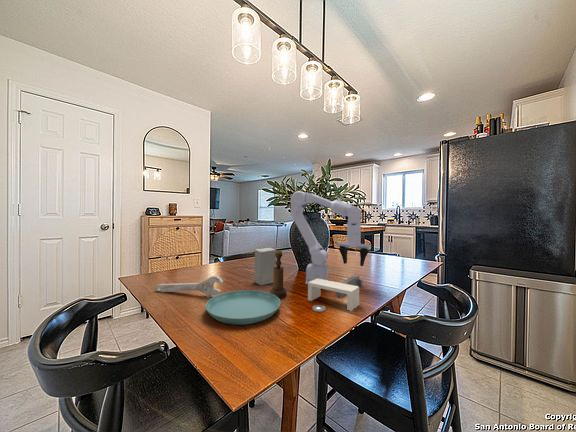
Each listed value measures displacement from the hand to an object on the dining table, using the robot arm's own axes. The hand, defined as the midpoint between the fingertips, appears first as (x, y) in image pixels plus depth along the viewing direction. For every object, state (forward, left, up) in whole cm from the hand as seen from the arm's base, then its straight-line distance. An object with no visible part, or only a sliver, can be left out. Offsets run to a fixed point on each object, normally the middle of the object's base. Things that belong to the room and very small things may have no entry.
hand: (353, 264), depth 106 cm
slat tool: (0, -5, -10) cm, 11 cm away
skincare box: (-35, -19, -10) cm, 41 cm away
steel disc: (0, -31, -10) cm, 32 cm away
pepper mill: (-19, -29, -10) cm, 36 cm away
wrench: (-48, -50, -11) cm, 70 cm away
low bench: (+1, -22, -10) cm, 24 cm away
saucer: (-19, -47, -11) cm, 52 cm away
